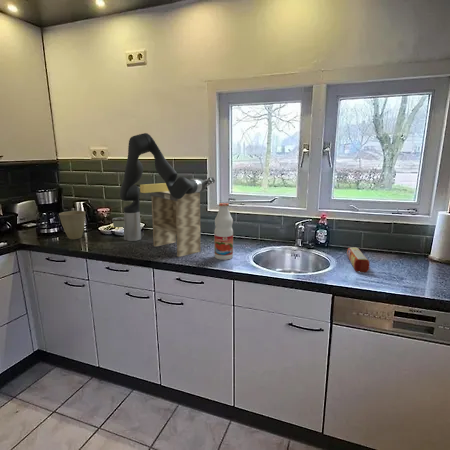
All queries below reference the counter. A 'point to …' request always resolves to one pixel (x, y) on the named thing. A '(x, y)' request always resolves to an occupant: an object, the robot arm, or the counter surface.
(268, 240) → the counter surface
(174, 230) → the beige zigzag patterned stand
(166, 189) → the spaghetti box
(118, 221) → the food container
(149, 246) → the counter surface
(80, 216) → the plant pot
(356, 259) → the snack package
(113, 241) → the counter surface
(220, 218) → the fruit juice
